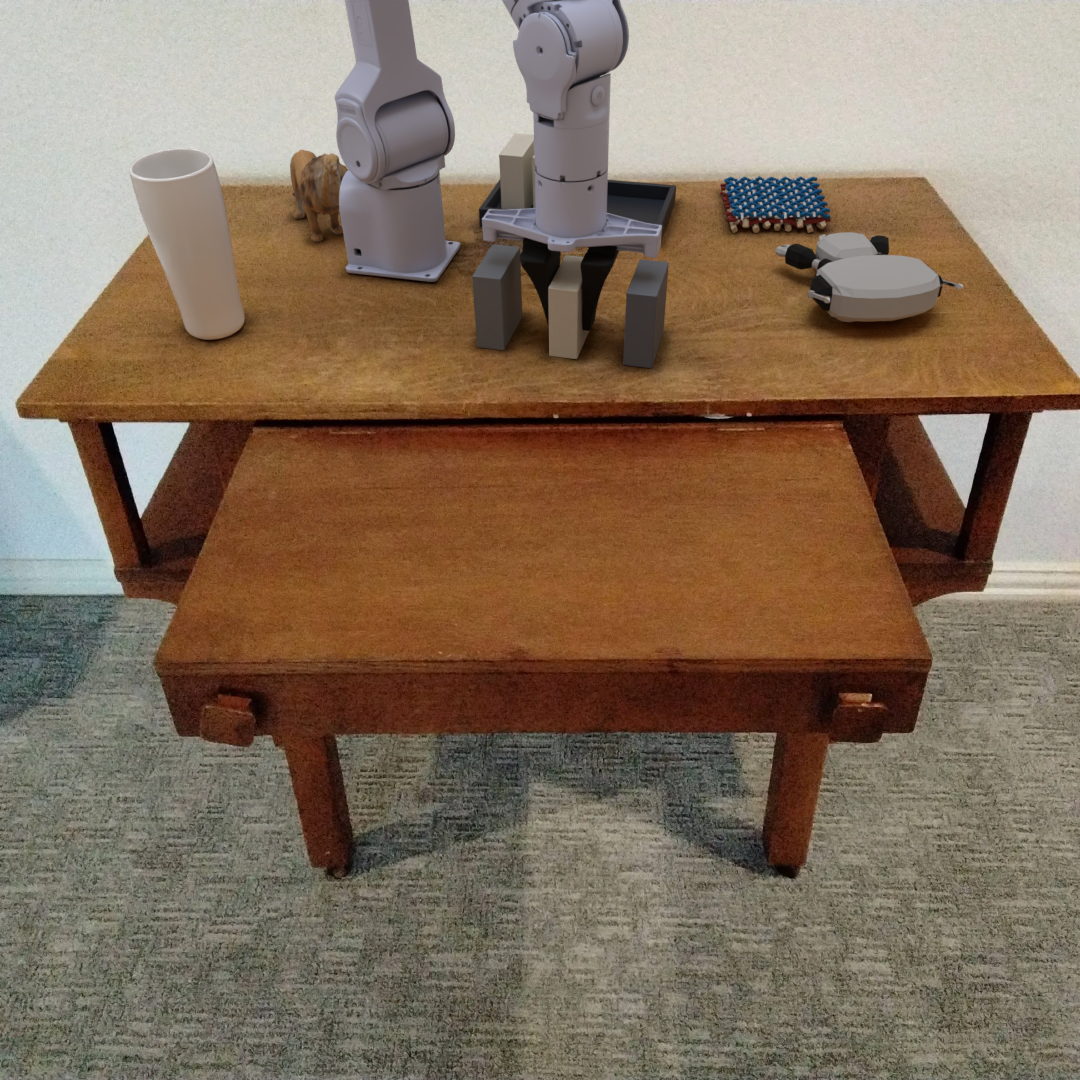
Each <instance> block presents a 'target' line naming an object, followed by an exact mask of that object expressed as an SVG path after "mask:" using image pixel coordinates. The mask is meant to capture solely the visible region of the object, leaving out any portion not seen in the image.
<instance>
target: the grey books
mask: <svg viewBox="0 0 1080 1080" xmlns="http://www.w3.org/2000/svg"><path fill="white" fill-rule="evenodd" d="M520 254H521V246H514V245H505V244H495V243H493V244H491V246H490V247H489V249H488V250H487V252H486V254H485V255H484V257H483V259H482V260H481V262H480V263H479V265H478V266H477V267H476V269H475V271H474V272H473V274H472V275H471V282H472V295H473V297H472V298H473V308H474V321H475V335H476V348H481V349H490V350H498V351H505V350H506V348H507V347H508V344H509V343H510V341H511V339H512V338H513V335H514V333H515V331H516V329H517V328H518V325H519V324H520V322H521V320H522V318H523V296H522V295H523V294H522V293H523V292H522V270H521V269H522V266H521V262H520ZM668 277H669V261H661V260H652V259H651V260H650V259H642V258H641V259H639V260H638V262H637V265H636V268H635V271H634V272H633V275H632V278H631V280H630V283H629V285H628V288H627V291H626V295H625V313H624V315H625V316H624V334H623V335H624V340H623V361H622V364H623V366H628V367H635V368H645V369H653V367H654V364H655V360H656V357H657V354H658V352H659V348H660V344H661V341H662V338H663V336H664V331H665V320H666V319H665V317H666V303H667V291H668Z"/></svg>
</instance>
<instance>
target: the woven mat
mask: <svg viewBox="0 0 1080 1080" xmlns="http://www.w3.org/2000/svg"><path fill="white" fill-rule="evenodd" d="M817 180H818V177H816V176H811V177H807V176H805V177H803V176H802V175H798V177H792V178H789V177H788V176H786V175H784V176H783V177H781V176H779V177H777V178H776V177H774V176H769V177H767V176H766V177H765V176H764V177H762V176H760V175H758V176H757V177H754V176H753V177H752V178H749V177H747V176H746V175H745V176H742V177H740V176H738V177H736V178H735V177H734V176H728V177H727V178H726V177H725V178H724V179H723V181H724V183H720V193H719V195H720V196H722V197H721V201H722V202H723V203H724V206H725V210H726V211H725V212H724V215H725V216H727V217H726V220H727V222H729V227H730V230H731V231H732V234H735V233H737V232H738V231H739V229H738V226H737V225H740V226H741V227H742V228H743V229H748V228H750V227H751V229H752V232H753V233H754V234H758V233H759V232H760V225H759V224H761V225H762V228H763V229H764V230H768V229H770V228H771V226H772V224H773V229H774V231H775V232H776V231H777V232H779V231H780V229H781V227H782V226H781V225H783V228H784V231H786V232H791V231H792V226H793V227H795V228H797V229H803V228H804V226H805V228H806V231H807V233H808V234H809V233H813V232H814V228H813V224H816V227H817V228H818V229H820V230H823V229H825V228H826V227H827V223H831V219H832V218H831V214H830V213H831V209H830V208H828V207H827V206H828V204H829V203H828V201H823V200H825V198H826V196H825V195H822V192H823V189H821V188H820V185H821V184H820V183H819V182H817Z"/></svg>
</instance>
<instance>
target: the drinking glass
mask: <svg viewBox="0 0 1080 1080" xmlns="http://www.w3.org/2000/svg"><path fill="white" fill-rule="evenodd" d="M128 174H129V177H130V182H131V185H132V188H133V193H134V196H135V200H136V204H137V206H138V209H139V212H140V215H141V217H142V221H143V223H144V226H145V229H146V231H147V234H148V237H149V239H150V242H151V243H152V247H153V249H154V251H155V254H156V256H157V258H158V261H159V263H160V265H161V268H162V271H163V273H164V275H165V278H166V280H167V283H168V285H169V287H170V290H171V293H172V295H173V298H174V300H175V303H176V306H177V308H178V310H179V311H178V312H179V314H180V316H181V319H182V323H183V327H184V328H185V331H186V332H187V333H188V334H189V335H190V336H191V337H193V338H196V339H199V340H205V341H206V340H208V341H211V340H220V339H224V338H227V337H230V336H232V335H234V334H236V333H237V332H238V331H240V330H241V329H242V328H243V326H244V324H245V320H246V315H245V311H244V308H243V303H242V300H241V299H242V298H241V294H240V287H239V282H238V275H237V268H236V262H235V255H234V250H233V243H232V237H231V230H230V223H229V217H228V212H227V207H226V202H225V197H224V194H223V189H222V186H221V181H220V177H219V174H218V171H217V167H216V164H215V161H214V157H213V156H212V155H211V154H210V153H208V152H206V151H205V150H202V149H198V148H189V147H188V148H187V147H181V148H180V147H179V148H177V147H176V148H168V149H162V150H158V151H153V152H151V153H148V154H145V155H143V156H140V157H138V158H137V159H135V160H134V161H133V162H132V163H131V164H130V165H129V168H128Z"/></svg>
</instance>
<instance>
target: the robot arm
mask: <svg viewBox="0 0 1080 1080" xmlns="http://www.w3.org/2000/svg"><path fill="white" fill-rule="evenodd" d="M501 1H502V3H503V5H504V7H505V8H506V11H507V12H508V14H509V16H510V17H511V19H512V21H513V23H514V24H515V26H516V29H517V31H518V34H517V38H516V39H514V40H513V41H512V47H513V54H514V58H515V62H516V65H517V68H518V70H519V72H520V74H521V76H522V78H523V81H524V84H525V90H526V91H525V92H526V103H527V104H528V105H529V110H530V111H531V112H532V114H533V115H532V117H533V135H534V161H535V207H536V208H528V209H510V210H497V209H489V210H488V211H487V212H486V214H485V215H484V217H483V218H482V227H481V228H482V239H483V240H482V241H484V242H494V243H495V242H497V240H499V239H501V240H510V241H519V242H522V248H521V249H522V251H520V262H521V268H522V269H523V270H524V271H525V273H526V274H527V276H528V278H529V279H530V281H531V283H532V284H533V286H534V288H535V291H536V293H537V295H538V298H539V300H540V303H541V307H542V309H543V313H544V317H545V321H546V326H547V327H549V302H548V288H549V286H550V284H551V282H552V280H553V278H554V276H555V274H556V272H557V270H558V268H559V267H560V265H561V257H562V255H561V254H562V253H571V252H573V251H574V250H575V249H576V248H577V249H578V248H587V251H586V252H585V254H584V255H583V257H584V258H583V260H582V262H581V274H582V284H583V311H582V329H583V330H585V331H589V332H590V331H592V328H593V326H594V324H595V321H596V313H597V309H598V304H599V300H600V296H601V294H602V290H603V288H604V284H605V282H606V280H607V278H608V277H609V275H610V273H611V271H612V269H613V267H614V264H615V262H616V259H617V257H618V255H619V252H629V253H630V252H631V253H641V254H643V256H644V257H645V258H653V259H657V258H658V256H659V253H660V251H661V246H662V240H661V235H662V225H656V224H649V223H644V222H640V221H636V220H632V219H629V218H625V217H621V216H618V215H614V214H610V213H607V185H608V180H609V178H608V177H609V176H608V175H609V151H610V150H609V148H610V145H609V144H610V116H611V115H610V114H611V84H612V83H611V78H612V73H611V72H612V71H614V70H616V69H617V68H618V67H619V66H621V64H622V63H623V61H624V60H625V57H626V55H627V53H628V48H629V42H630V31H629V23H628V19H627V16H626V15H627V14H625V11H624V8H623V5H622V3H621V0H501ZM344 5H345V10H346V15H347V20H348V27H349V30H350V31H349V32H350V37H351V42H352V48H353V54H354V59H355V64H354V66H353V68H352V69H351V70H350V72H349V74H348V75H347V76H346V78H345V79H344V80H343V82H342V83H341V85H340V86H339V88H338V89H337V91H336V92H335V94H334V101H335V106H336V115H337V117H336V118H337V120H336V121H337V122H336V131H335V132H336V133H335V138H336V145H337V149H338V153H339V156H340V159H341V160H342V162H343V163H344V164H343V165H344V166H346V167H347V169H348V171H347V172H346V173H345V175H344V177H343V179H342V182H341V185H340V192H339V216H340V221H341V226H342V228H343V233H342V234H343V241H344V246H345V252H346V259H347V262H348V263H347V265H346V266H345V272H346V273H347V274H348V273H349V274H356V275H366V276H374V277H382V278H383V277H384V278H391V279H392V278H393V279H401V280H410V281H421V282H428V283H435V282H437V281H438V280H439V279H440V277H441V276H442V274H443V273H444V272H445V270H446V268H447V267H448V266H449V265H450V263H451V262H452V260H453V258H454V257H455V256H456V254H457V253H458V251H459V250H460V249H461V243H460V242H459V241H453V240H446V228H445V217H444V207H443V196H442V195H443V194H442V185H441V183H442V182H441V173H440V171H441V170H442V169H444V168H446V158H445V157H446V156H447V155H448V154H449V153H450V152H451V151H452V149H453V147H454V144H455V141H456V140H455V139H456V125H455V119H454V116H453V112H452V110H451V108H450V105H449V104H448V101H447V98H446V95H445V93H444V86H443V79H442V76H441V75H440V74H439V73H438V72H437V71H435V70H434V69H433V68H431V67H430V66H428V65H427V64H425V63H424V62H422V61H421V60H420V59H419V58H418V55H417V48H416V41H415V35H414V29H413V28H414V27H413V22H412V16H411V9H410V8H411V7H410V1H409V0H344Z"/></svg>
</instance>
